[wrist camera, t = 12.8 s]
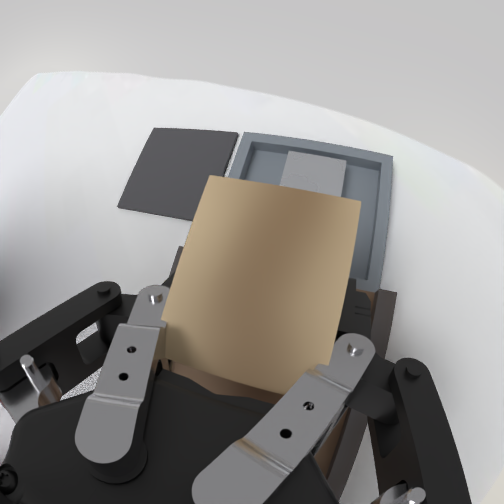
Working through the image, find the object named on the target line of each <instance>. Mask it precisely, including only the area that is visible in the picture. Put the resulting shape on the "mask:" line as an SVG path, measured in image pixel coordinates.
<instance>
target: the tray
mask: <svg viewBox="0 0 504 504" xmlns="http://www.w3.org/2000/svg"><path fill="white" fill-rule="evenodd" d="M289 151H294V152H300V153H307V154H313V155H319V156H324V157H330V158H335V159H341V160H346V161H347V162H346V168H345V175H344V181H343V188H342V194H341V197H343V198H348V199H353V200H357V201H361V208H360V215H359V221H358V228H357V234H356V240H355V246H354V252H353V257H352V263H351V268H350V273H349V278H354V279H356V289H360V290H364V291H369V292H374V293H375V292H376V291H377V290H378V289H379V287H380V281H381V275H382V268H383V261H384V254H385V246H386V238H387V229H388V220H389V209H390V197H391V184H392V166H393V156H390V155H386V154H381V153H377V152H372V151H367V150H362V149H357V148H352V147H347V146H342V145H336V144H330V143H324V142H318V141H312V140H306V139H299V138H292V137H284V136H276V135H268V134H259V133H250V132H244V134H243V136H242V139H241V142H240V145H239V147H238V150H237V153H236V156H235V159H234V162H233V164H232V167H231V170H230V173H229V176H228V178H234V179H241V180H248V181H254V182H261V183H267V184H273V185H280V182H281V178H282V174H283V170H284V167H285V163H286V159H287V156H288V152H289Z"/></svg>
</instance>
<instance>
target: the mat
mask: <svg viewBox="0 0 504 504" xmlns="http://www.w3.org/2000/svg"><path fill="white" fill-rule="evenodd" d="M237 137H238V133H237V132H226V131H213V130H197V129H177V128H153V130H152V132H151V134H150V136H149V138H148V140H147V142H146V144H145V146H144V148H143V150H142V152H141V154H140V156H139V159H138V161H137V163H136V165H135V167H134V169H133V171H132V174H131V176H130V178H129V180H128V182H127V185H126V187H125V189H124V192H123V194H122V196H121V199H120V201H119V203H118V206H117V207H118V208H122V209H128V210H133V211H139V212H145V213H150V214H156V215H161V216H167V217H172V218H178V219H183V220H189V221H193V219H194V216H195V214H196V211H197V208H198V205H199V202H200V200H201V197H202V194H203V192H204V189H205V186H206V184H207V181H208V178H209V176H210V175H213V176H220V177H223V176H224V173H225V170H226V167H227V165H228V162H229V159H230V156H231V153H232V151H233V148H234V145H235V143H236V140H237Z"/></svg>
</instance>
